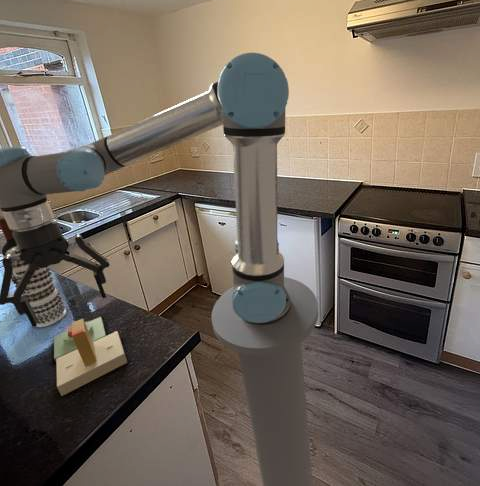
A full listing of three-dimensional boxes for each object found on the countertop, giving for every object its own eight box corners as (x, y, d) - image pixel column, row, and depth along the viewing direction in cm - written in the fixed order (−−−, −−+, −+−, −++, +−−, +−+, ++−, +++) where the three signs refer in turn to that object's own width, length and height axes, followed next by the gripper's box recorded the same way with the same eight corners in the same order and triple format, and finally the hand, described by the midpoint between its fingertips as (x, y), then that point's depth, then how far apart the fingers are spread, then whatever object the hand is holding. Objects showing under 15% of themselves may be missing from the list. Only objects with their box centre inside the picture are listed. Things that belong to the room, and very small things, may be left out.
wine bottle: (22, 304, 102) (-17, 224, 91) (27, 293, 108) (-10, 217, 97) (49, 296, 105) (14, 218, 94) (51, 285, 112) (19, 211, 101)
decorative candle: (74, 307, 98) (46, 239, 89) (52, 327, 89) (19, 255, 80) (49, 307, 99) (19, 240, 90) (25, 328, 90) (-11, 256, 81)
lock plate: (120, 339, 82) (117, 330, 81) (127, 362, 74) (124, 353, 73) (60, 367, 75) (56, 357, 74) (61, 396, 67) (56, 386, 66)
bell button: (85, 324, 85) (83, 319, 85) (86, 332, 82) (84, 327, 82) (69, 331, 83) (66, 326, 83) (69, 339, 80) (67, 334, 80)
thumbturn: (83, 351, 75) (70, 322, 72) (94, 346, 77) (82, 317, 73) (85, 366, 71) (71, 336, 67) (96, 361, 72) (84, 331, 69)
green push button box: (102, 319, 91) (99, 311, 90) (106, 338, 83) (103, 330, 82) (55, 339, 85) (51, 331, 84) (55, 362, 77) (51, 353, 76)
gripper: (-56, 253, 51) (-1, 346, 59) (103, 210, 64) (131, 292, 72) (-45, 239, 57) (4, 326, 65) (99, 203, 70) (125, 279, 78)
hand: (71, 308), depth 68 cm, fingers open, 13 cm apart
